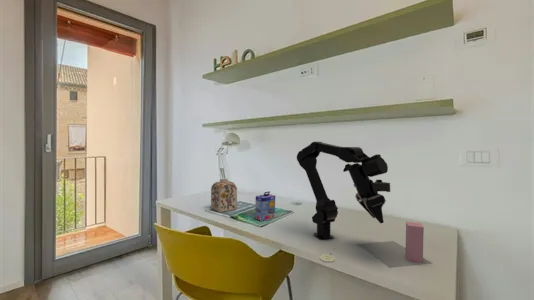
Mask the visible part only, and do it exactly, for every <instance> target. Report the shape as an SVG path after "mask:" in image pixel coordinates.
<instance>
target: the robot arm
mask: <svg viewBox="0 0 534 300" xmlns="http://www.w3.org/2000/svg"><path fill="white" fill-rule="evenodd" d="M321 153H322V154H323V153H324V154H328V155H330V156H335V157H337V158H338V159H339V160H341V161H343V162H345V163H347V164H345V165H344V168H343V170H342V171H343V172H349V175H350V177H351V180H352V182H353V187H354V188H355V190H356V193H355V196H354V197H355V199H356V201H357V202H358V203H359V205H360V206H361V207H362V208H363V209H364V210H365V211H366V212H367V213H368V214H369V215H370V217H372V218H373V219H376V220H377V222H378V223H380V224H383V223H384V222H385V221H384V215H383V209H382V208H383V206H384V205H385V203H386V201H387V200H386V198H385V196H384V195H383V194H380V193H379V192H386V193H390V192H391V183H390V182H385V181H382V179H376V180H375V181H373V180H372V179H370V178H371V177H372V178H373V177H376V176H379V175H384V174H387V172H388V171H389V170H388V169H389V166H388V163H387V162H386V161H385V159H384V158H383V157H382V155H381V154H374V155H372V156H369V155H367V154H366V153H365V152H364V150H363V148H362V147H360V146H339V145H335V144H330V143H327V142H326V143H325V142H322V141H312V142H311V143H310V144H308V145H307V146H305V147H304V148H302V149H301V150H300V151H298V152H297V155H296V161H297V162H298V165H299V166H300V167H301V168H302V169H303V170H304V171H305V173H306V176H307V179H308V182H309V184H310V186H311V190H312V192H313V196H314V198H315V200H316V201H315V202H316V203H315V211H316V213H315V214H313V215H312V217H311V219H312V220H311V221H312V223H313V224H316V232H313V235H314V236H315V237H317V239H318V240H330V239H331V240H332V239H334V236H333V235H332V234H331V223H335V221H336V218H337V217H338V215H339V211H338V209H339V207H338V206H337V205H336V201H335V200H334V199H330V198H329V196H328V194H327V192H326V190H325V187H324V184H323V182H322V179H321V176H320V174H319V171H318V169H317V162H318V160H317V158H318V157H319V156H320V154H321ZM350 163H353V164H350Z"/></svg>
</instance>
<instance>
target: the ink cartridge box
mask: <svg viewBox="0 0 534 300" xmlns="http://www.w3.org/2000/svg"><path fill="white" fill-rule="evenodd" d="M270 193H271V191H265V192H264V193H263V194H260V195H256V196H255V211H254V213H255V217H254V219H256V220H257V219H258V220H257V221H259V220H260V221H259V222H264V221H263V220H265V221H267V220H272V219H271V218H273V219H275V218H276V217H275V216H276V215H275V214H276V213H275V212H276V195H274V194H270ZM274 217H275V218H274Z"/></svg>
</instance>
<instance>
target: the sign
mask: <svg viewBox="0 0 534 300" xmlns="http://www.w3.org/2000/svg"><path fill="white" fill-rule="evenodd" d="M335 249H336V247H334V248H333V249H332V250H333V251H334V250H335ZM319 260H320V261H321V262H323V263H326V264H327V263H335V261H336V257H335V256H334V255H332V252H330V253H329V254H326V253H325V254H321V255H319Z"/></svg>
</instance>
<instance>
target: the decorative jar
mask: <svg viewBox="0 0 534 300" xmlns="http://www.w3.org/2000/svg"><path fill="white" fill-rule="evenodd" d="M237 189H238V187H237V186H236V184H235V182H233V181H229V179H228V178H220V179H219V181H216V182H214V183H213V184H212V185H211V187H210V209H212V210H214V211H216V212H219V213H225V212H230V211H235V210H234V209H236V210H237V209H238V190H237ZM229 210H230V211H229ZM224 211H225V212H224Z"/></svg>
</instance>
